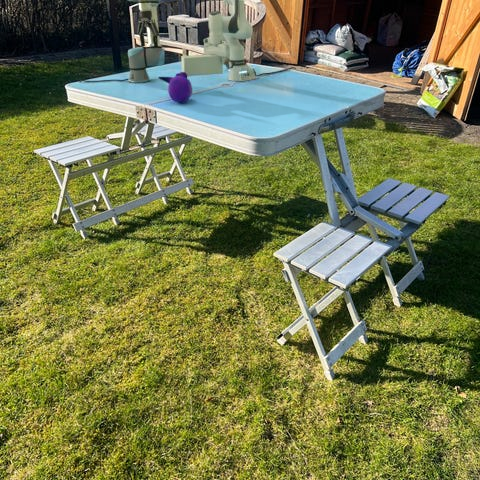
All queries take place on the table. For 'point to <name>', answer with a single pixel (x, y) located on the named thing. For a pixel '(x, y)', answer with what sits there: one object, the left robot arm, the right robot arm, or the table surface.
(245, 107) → the table surface
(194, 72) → the box
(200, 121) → the table surface
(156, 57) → the left robot arm
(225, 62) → the cream textured rounded piece
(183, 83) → the toy
